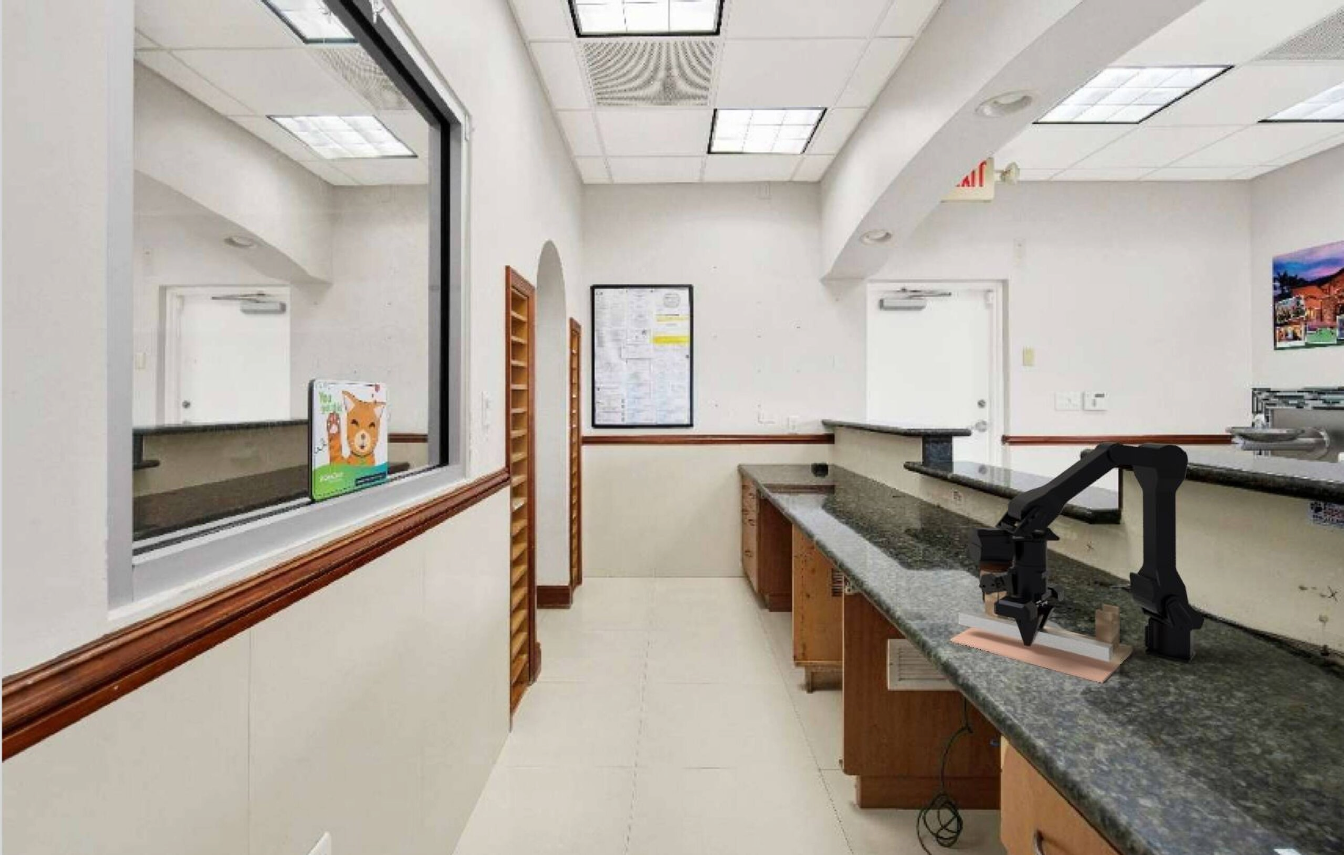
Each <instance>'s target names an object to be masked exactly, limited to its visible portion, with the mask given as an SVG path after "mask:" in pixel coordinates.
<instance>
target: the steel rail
mask: <svg viewBox="0 0 1344 855" xmlns="http://www.w3.org/2000/svg"><path fill="white" fill-rule="evenodd" d="M958 624H959V625H961V626H965V627H969V628H971V627H972V628H976V629H980V630H984V631H988V632H992V633H996V634H1000V635H1004V636H1008V637H1012V638H1016V639H1020V640H1022V637H1021V634H1020V631H1019V628H1018V625H1017V623H1016V622H1014V621H1010V620H1006V619H1001V618H997V617H993V616H988V615H985V613H979V612H974V611H971V610H966V609H962V610H960V611H959V612H958ZM1032 643H1036V644H1040V645H1044V646H1048V647H1052V648H1056V649H1060V650H1064V651H1068V652H1072V653H1076V654H1080V655H1084V656H1088V657H1092V658H1096V659H1100V660H1104V661H1108V662H1109V661H1110V660H1111V659H1112V658H1113V644H1109V643H1104V642H1100V641H1096V640H1092V639H1087V638H1083V637H1079V636H1074V635H1070V634H1066V633H1061V632H1057V631H1053V630H1049V629H1044V628H1040V627H1039V628H1038V630H1037V633H1036V635H1035V638H1034V640H1033V642H1032Z"/></svg>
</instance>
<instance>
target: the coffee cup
mask: <svg viewBox="0 0 1344 855" xmlns="http://www.w3.org/2000/svg"><path fill="white" fill-rule="evenodd" d="M978 566H979V577H980V579H981V575H983V574H989V573H993V574H997V573H1004V572H1007V569H1009V568H1010V567H1012V566H1013V560H1010V561H1009V562H1008V563H979V564H978ZM980 579H979V580H980ZM980 589H981V588H980ZM981 594H982V602H984V603H985V591H984V590H982V589H981ZM1008 596H1011V597H1013V596H1012V595H1008Z"/></svg>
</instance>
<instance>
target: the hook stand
mask: <svg viewBox="0 0 1344 855" xmlns="http://www.w3.org/2000/svg"><path fill="white" fill-rule="evenodd" d="M1004 596H1008V595H1007V594H1006V591H1004V592H996V593H992V594H990V595H986V594H985V602H984V615H988V616H993V617H997V618H1001V619H1006V620H1010V621H1014V622H1016V620H1015V619H1014V618H1010V617H1005V616H1001V615H996V614H995V613H994V603H995V602H996V601H998V600H999V599H1001V598H1003V597H1004ZM1120 607H1121V606H1116V605H1110V604H1105V603H1103V604H1102V607H1101V608H1102V610H1101V609H1095V614H1094V617H1095V619H1094V620H1095V621H1094V622H1095V624H1094V627H1095V631H1094V634H1095V636H1091V635H1085V634H1082V633H1077V632H1073V631H1068V630H1064V629H1059V628H1056V627H1051V626H1047V625H1045V626H1044V629H1049V630H1053V631H1057V632H1061V633H1066V634H1070V635H1074V636H1079V637H1083V638H1087V639H1092V640H1096V641H1100V642H1104V643H1109V644H1113V658H1112V659H1111V660H1110V662H1113V663H1117V664H1119V665H1120V664H1121V665H1122V664H1123V663H1124V662H1125V661H1124V660H1127V659H1128V657H1130V656H1131V655H1132V653H1133V645H1129V644H1124V643H1121V642H1120V618H1121V617H1120ZM1123 661H1124V662H1123Z"/></svg>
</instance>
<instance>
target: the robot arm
mask: <svg viewBox="0 0 1344 855" xmlns="http://www.w3.org/2000/svg"><path fill="white" fill-rule="evenodd" d="M1119 465H1127V466H1128V465H1129V466H1132V471H1133V475H1134V477H1135V479H1136V481H1137V483H1138V485H1139V486H1140V488H1141V490H1142V556H1143V557H1142V565H1141V567H1140V569H1138V571H1137V572H1132V571H1130V572H1129V576H1128V577H1129V581H1130V585H1129V589H1128V591H1127V592H1128V593H1129V594H1132V600H1133V602H1135V603H1136V604H1137V605H1138V606H1139V608H1140V610H1141V612H1142V614H1143V615H1146V616H1148V617H1149V618H1148V619H1147V623H1146V624H1145V625H1144V647H1145V648H1146V649H1145V651H1144V652H1145V653H1146V654H1149V655H1152V656H1157V657H1161V658H1165V659H1169V660H1174V661H1179V662H1183V663H1186V664H1188V663H1189V664H1190V663H1191V662H1192V660H1193V659H1194V657H1195V656H1196V654H1197V651H1196V650H1194V649H1195V648H1194V644H1195V642H1194V638H1195V636H1194V633H1195V631H1194V630H1202V628H1203V625H1204V623H1205V617H1203V616H1202V615H1201V614H1200V613H1199V612H1198V611H1197V610H1196V609H1194V608H1193V607H1192V606H1191V604H1190V602H1189V597H1188V592H1187V587H1186V584H1185V582H1184V581H1183V579H1182V577H1181V575H1180V574H1179V572H1178V569H1177V514H1176V513H1177V492H1178V489H1179V488H1180V486H1181V485H1182V483H1183V482H1184V481H1185V479H1186V475H1187V471H1188V465H1189V457H1188V453H1187V451H1185V450H1184V449H1183V448H1182V447H1180V446H1178V445H1176V444H1170V443H1168V444H1167V443H1159V442H1157V443H1155V442H1143V443H1141V444H1139V445H1127V444H1123V443H1120V442H1113V441H1112V442H1110V441H1103V442H1101V443H1100V442H1099V444H1097V445H1096V446H1095V447H1094V449H1093V450H1091V451H1090V452H1088V453H1087V454H1085V456H1083V457H1082V458H1080V459H1079V460H1078V461H1076V462H1075V463H1073V464H1072V465H1071V466H1069V467H1068V468H1066V469H1065V470H1064V471H1062V472H1061V473H1059V474H1058V475H1057V476H1055V477H1054V478H1052V479H1051V480H1050V481H1049V482H1048V483H1045V484H1043V485H1041V486H1039V487H1034V488H1032V489H1029V490H1027V491H1025V492H1023V493H1021V494H1019V495H1017V496H1015V497H1013V498H1012V499H1011V500H1010V501H1009V502H1008V504H1007V510H1006V512H1005V513H1004V514H1003V515H1002V516H1001V518H1000V519H999V521H998V522H997V523H996V524H995V527H980V526H975V527H973V532H972V534H971V536H970V538H969V541H968V553H969V556H970V558H971V561H972V562H973V563H974V564H978V565H979V563H1008V562H1009V561H1010V560H1013V566H1012V567H1010V568H1009V569H1007V572H1004V573H997V574H993V573H989V574H983V575H981V579H979V585H978V587H979V589H982V590H984V591H985V594H986V595H990V594H992V593H996V592H1004V591H1006V594H1007V595H1012V597H1011V596H1004V597H1003V598H1001V599H999V600H998V601H996V602H995V603H994V613H995V614H996V615H1001V616H1005V617H1008V618H1013V619H1015V620H1016V623H1017V625H1018V628H1019V631H1020V634H1021V637H1022V640H1023V643H1024V645H1025V646H1031V644H1032V642H1033V640H1034V638H1035V635H1036V633H1037V630H1038V628H1039V627H1040V628H1044V626H1046V624H1047V622H1048V620H1049V619H1050V617H1051V616H1052V614H1053V612H1054V610H1055V609H1056V605H1054V604H1049V603H1048V600H1046V599H1047V598H1054V600H1055V602H1058V603H1060V602H1062V601H1063V600H1064V599H1065V591H1064V590H1065V589H1064V588H1063V587H1062V586H1061V585H1060V584H1057V583H1054V582H1053V583H1052V582H1048V576H1049V575H1051V574H1052V568H1049V567H1048V542H1049V541H1050V542H1053V541H1054V542H1055V541H1056V542H1058V541H1060V539H1061V538H1060V537H1059V535H1057V534H1056V533H1054V532H1053V530H1052V528H1051V527H1049V526H1050V525H1051V524H1052V523H1053V522H1054V521H1055V520H1057V518H1058V517H1059V516H1060V515H1061V513H1062V511H1063V509H1064V507H1065V505H1067V503H1069V501H1070V500H1073V498H1074V497H1075V498H1076V496H1077V495H1079V494H1081V493H1082V492H1083V491H1085V490H1086V489H1087V488H1088V487H1090V486H1091V485H1093V484H1094V483H1095V482H1097V481H1098V480H1100V479H1101V478H1102V477H1104V476H1105V475H1106V474H1108V473H1109V472H1111V471H1112V470H1113V469H1115V468H1117V466H1119ZM1017 524H1018V526H1017ZM982 590H981V591H982ZM1015 596H1016V597H1015Z"/></svg>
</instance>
